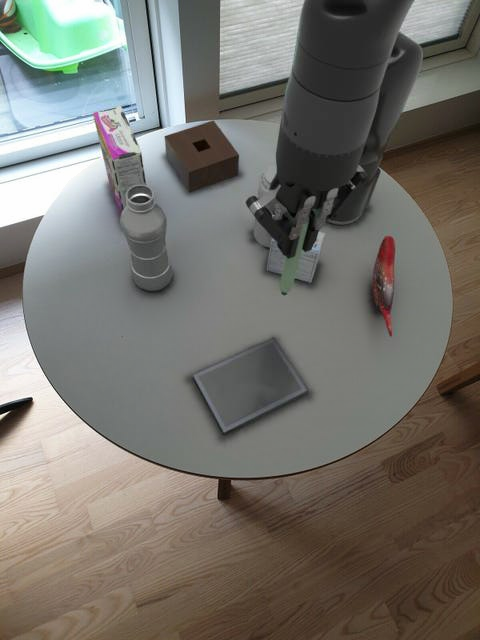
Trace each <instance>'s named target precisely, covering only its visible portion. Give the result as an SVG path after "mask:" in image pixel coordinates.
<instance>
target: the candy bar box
mask: <svg viewBox="0 0 480 640" xmlns="http://www.w3.org/2000/svg"><path fill="white" fill-rule="evenodd" d="M92 116H93V120H94V124H95V129H96V133H97V138H98V142H99V145H100V150H101V155H102V158H103V159H102V160H103V164H104V166H105V172H106V175H107V180H108V185H109V188H110V190H111V192H112V195H113V198H114V200H115V203H116V206H117V208H118V210H119V213H120V215H121V214H122V211H123V210H124V208H125V207H126V206H127V204H126V200H127V199H126V193H127V191H128V189H129V188H131V187H133V186H135V185H145V186H147V181H146V174H145V168H144V162H143V155H142V154H143V153H142V150H141V148H140V144H139V143H138V140H137V138H136V136H135V133H134V131H133V129H132V127H131V125H130V123H129V120H128V118H127V116H126V114H125V111H124V110H123V107H122V106H117V107H113V108H107V109H104V110H97V111H94V112H92Z"/></svg>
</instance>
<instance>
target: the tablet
mask: <svg viewBox="0 0 480 640" xmlns="http://www.w3.org/2000/svg"><path fill="white" fill-rule="evenodd" d="M192 380H193V381H194V384H195V385H196V387H197V390H198V391H199V393H200V395H201V396H202V398H203V400H204V402H205V404H206V406H207V408H208V409H209V411H210V413H211V415H212V417H213V419H214V421H215V423H216V424H217V427H218V428H219V430H220V432H221V434H222V436H226V435H228V434H230V433H232V432H233V431H235V430H238V429H239V428H242V427H244V426H246V425H247V424H250V423H252V422H253V421H255V420H257V419H259V418H262V417H264V416H265V415H267V414H269V413H271V412H273V411H275V410H277V409H279V408H282V407H283V406H285V405H287V404H289V403H291V402H293V401H295V400H297V399H299V398H301V397H302V396H305V395H307V394H308V391H309V390H308V389H307V387H306V385H305V384H304V382H303V381H302V379H301V378H300V376H299V374H298V373H297V372H296V370H295V369H294V366H292V363H291V362H290V361H289V359H288V357H287V356H286V354H285V353H284V351H283V350H282V348H281V347H280V345H279V343H278V342H277V340H276V339H275V338H274V337H272V338H270V339H267V340H265V341H263V342H261V343H259V344H257V345H255V346H252V347H250V348H248V349H246V350H244V351H241V352H240V353H237V354H235V355H232V356H231V357H229V358H227V359H224V360H222V361H220V362H218V363H216V364H214V365H212V366H209V367H207V368H205V369H203V370H200V371H199V372H196V373H194V374H192Z"/></svg>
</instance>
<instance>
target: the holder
mask: <svg viewBox="0 0 480 640" xmlns="http://www.w3.org/2000/svg"><path fill="white" fill-rule="evenodd" d="M164 145H165V146H164V147H165V158H167V160H168V162H169V163H170V165H171V166H172V168H173V170H174V171H175V172H176V174H177V175H178V177H179V179H180V180H181V181H182V183H183V185H184V186H185V187H186V189H187V191H188V192H189V193H191V192H193V191H196V190H199V189H202V188H205V187H208V186H210V185H213V184H216V183H219V182H222V181H225V180H227V179H230V178H233V177H236V176H239V164H240V163H239V161H240V153H238V151H237V149H236V148H235V147H234V146H233V144H232V142H230V140H229V139H228V138H227V136H226V135H225V134H224V132H223V130H221V128H220V127H219V126H218V124H217V123H216V121H215V120H211V121H208V122H205V123H204V122H203V123H201V124H198V125H195V126H192V127H189V128H185V129H182V130H178V131H175V132H173V133H170V134H166V135H164Z"/></svg>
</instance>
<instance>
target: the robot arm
mask: <svg viewBox="0 0 480 640" xmlns="http://www.w3.org/2000/svg"><path fill="white" fill-rule="evenodd" d="M415 1H416V0H303V4H302V7H301V11H300V16H299V21H298V27H297V35H296V40H295V47H294V52H293V60H292V66H291V70H290V74H289V77H288V81H287V84H286V87H285V91H284V96H283V104H282V110H281V117H280V123H279V130H278V135H277V136H278V137H277V143H276V148H275V149H276V150H275V163H276V167H277V173H276V175H275V177H274V178H273V180H272V181H271V184H270V191H269V192H268V193H267V194H265V195H264V196H263V197H261V198H260V199H258V198H257V196H256V195H251V196H249V197H248V198H247V199H246V200H245V205H246V206H247V208H248V210H249V211H250V212H251V213H252V215H253V217H254V219H255V218H256V219H257V221H258V222H259V223H260V224H261V226H262V227H263V228H264V229H265V230H266V231H267V232H268V233H269V234H270V235H271V236H272V238H273V239H274V240H275V241H276V242H277V247H278V248H279V250H280V251H281V252H282V254H283V255H284V256H286V257H287V258H288V259H290V258H292V257H295V254H296V250H297V246H298V242H299V234H300V231H301V228H302V225H304V224H306V223H307V220H308V217H309V224H308V228H307V232H306V236H305V239H304V243H303V247H302V249H303V251H304V252H307V251H310V250H312V246H313V245H314V243H315V242H316V240H317V236H318V233H319V232H320V230H322V229H323V228H324V227H325V225H326V223H329V224H332V225H337V226H347V225H350V224H353V223H355V222H356V221H358V220H359V219H360V218H361V217H362V215H363V212H364V211H365V210H368V207H369V204H370V202H371V199H372V197H373V195H374V191H375V189H376V186H377V183H378V181H379V178H380V175H381V168H380V164H381V161H382V159H383V156H384V154H385V151H386V148H387V145H388V142H389V140H390V137H391V135H392V132H393V131H394V129H395V128H396V125H397V123H399V120H400V118H401V116H402V113H403V112H404V109H405V107H406V104H407V102H408V99H409V98H410V95H411V92H412V90H413V88H414V87H415V83H416V81H417V79H418V77H419V73H420V71H421V69H422V67H423V66H422V65H423V59H424V51H423V47H422V46H421V45H420V44H418V43H417V42H416V41H415V40H414V39H412V38H410V37H409V36H407V34H404V33H402V32H401V28H402V25H403V24H404V21H405V19H406V18H407V15H408V13H409V11H410V9H411V8H412V6H413V5H414V2H415ZM277 202H279V207H280V210H281V211H280V216H279V220H275V219H274V218H275V217H276V215H275V213H274V212H275V210H276V208H275V205H276V203H277Z"/></svg>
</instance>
